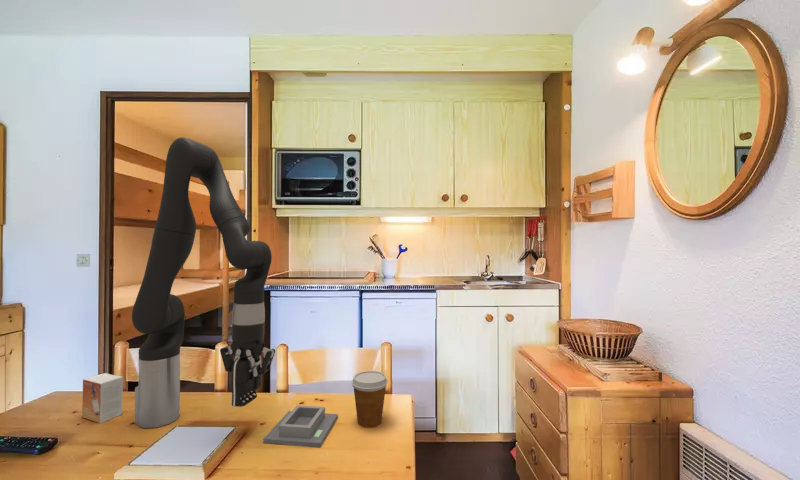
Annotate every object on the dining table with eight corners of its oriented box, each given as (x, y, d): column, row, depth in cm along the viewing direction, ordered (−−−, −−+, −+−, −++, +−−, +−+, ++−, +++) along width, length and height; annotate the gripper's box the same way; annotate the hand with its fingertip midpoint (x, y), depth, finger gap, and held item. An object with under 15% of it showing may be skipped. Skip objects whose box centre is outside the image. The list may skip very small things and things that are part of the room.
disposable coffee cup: (344, 422, 95) (344, 376, 95) (370, 409, 102) (370, 367, 102) (368, 435, 88) (368, 386, 88) (394, 421, 95) (395, 376, 95)
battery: (244, 409, 85) (245, 361, 85) (230, 407, 86) (231, 360, 86) (261, 397, 92) (262, 352, 92) (248, 395, 93) (249, 351, 93)
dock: (263, 443, 85) (263, 428, 85) (288, 414, 99) (288, 402, 99) (320, 447, 83) (320, 432, 83) (337, 417, 97) (337, 404, 97)
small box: (81, 418, 96) (81, 379, 96) (105, 409, 102) (105, 372, 102) (99, 423, 93) (100, 383, 93) (123, 414, 99) (123, 376, 99)
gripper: (212, 322, 86) (210, 393, 86) (268, 325, 85) (266, 398, 85) (231, 315, 94) (229, 381, 94) (282, 318, 92) (280, 385, 92)
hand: (246, 388), depth 89 cm, fingers closed on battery, 4 cm apart
